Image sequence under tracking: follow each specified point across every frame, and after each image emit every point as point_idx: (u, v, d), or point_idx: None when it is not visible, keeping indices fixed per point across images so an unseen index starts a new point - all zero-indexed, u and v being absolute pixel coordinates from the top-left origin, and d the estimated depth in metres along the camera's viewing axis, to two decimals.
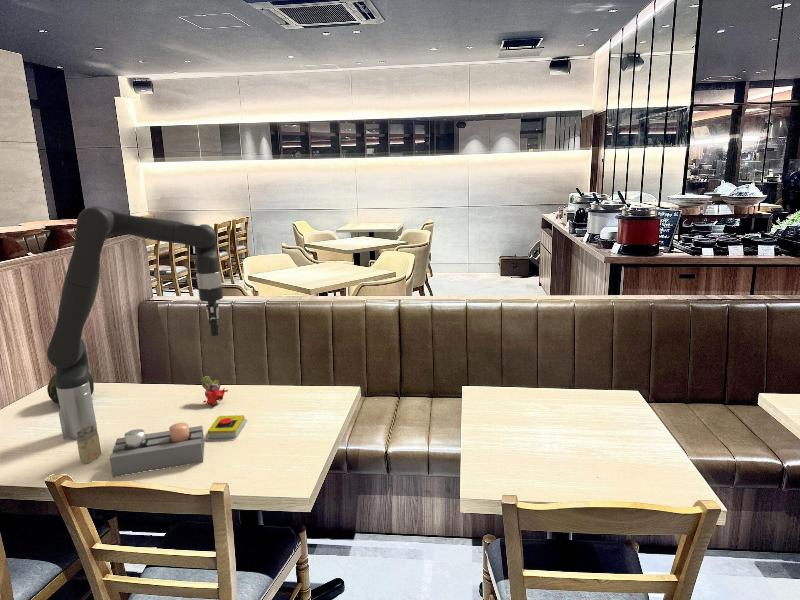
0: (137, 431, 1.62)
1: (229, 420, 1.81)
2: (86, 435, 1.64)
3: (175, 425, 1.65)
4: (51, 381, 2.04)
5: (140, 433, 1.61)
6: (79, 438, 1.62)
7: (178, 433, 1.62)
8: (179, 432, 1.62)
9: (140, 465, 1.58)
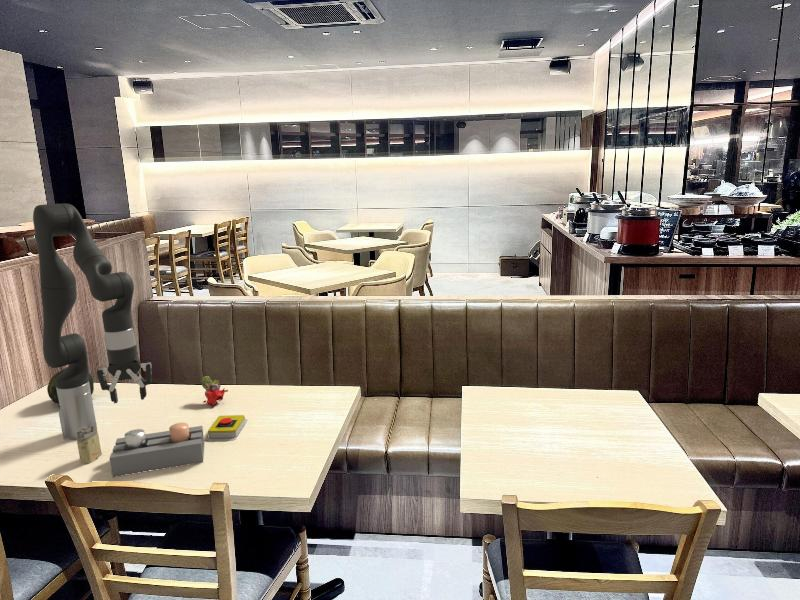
0: (137, 431, 1.62)
1: (229, 420, 1.81)
2: (86, 435, 1.64)
3: (175, 425, 1.65)
4: (51, 381, 2.04)
5: (140, 433, 1.61)
6: (79, 438, 1.62)
7: (178, 433, 1.62)
8: (179, 432, 1.62)
9: (140, 465, 1.58)
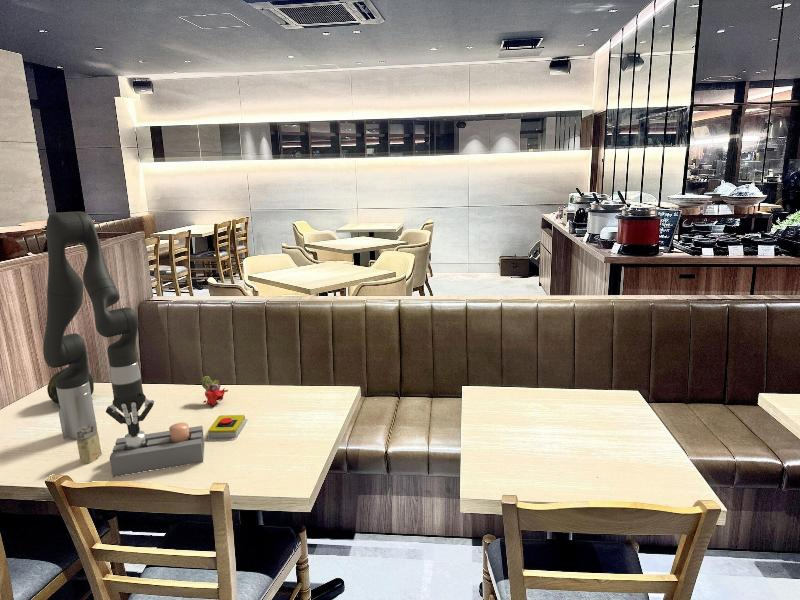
0: None
1: (229, 420, 1.81)
2: (86, 435, 1.64)
3: (175, 425, 1.65)
4: (51, 381, 2.04)
5: (140, 435, 1.61)
6: (79, 438, 1.62)
7: (178, 433, 1.62)
8: (179, 432, 1.62)
9: (140, 465, 1.58)
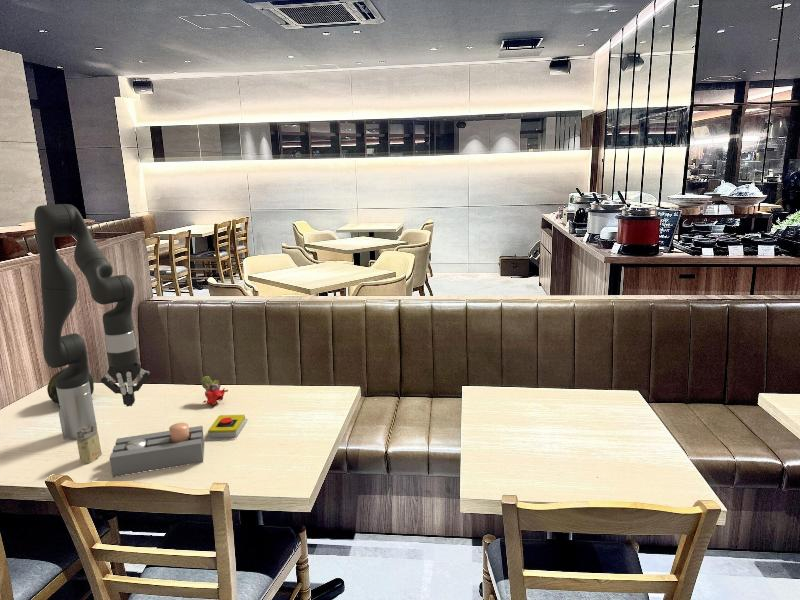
0: (139, 441, 1.63)
1: (230, 419, 1.81)
2: (86, 435, 1.64)
3: (175, 425, 1.65)
4: (51, 381, 2.04)
5: (141, 443, 1.62)
6: (79, 438, 1.62)
7: (178, 433, 1.62)
8: (179, 432, 1.62)
9: (140, 465, 1.58)
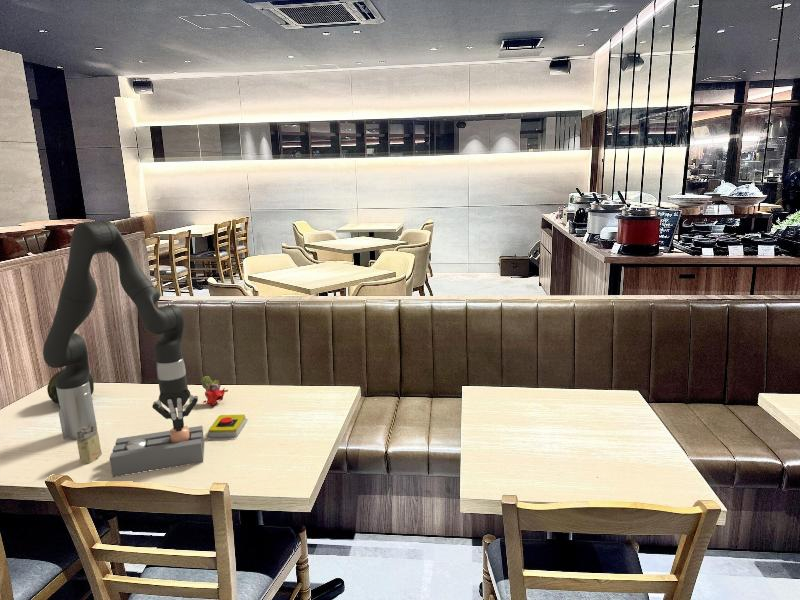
0: (139, 441, 1.63)
1: (230, 419, 1.81)
2: (86, 435, 1.64)
3: None
4: (51, 381, 2.04)
5: (141, 443, 1.62)
6: (79, 438, 1.62)
7: (179, 436, 1.63)
8: (180, 435, 1.63)
9: (140, 465, 1.58)
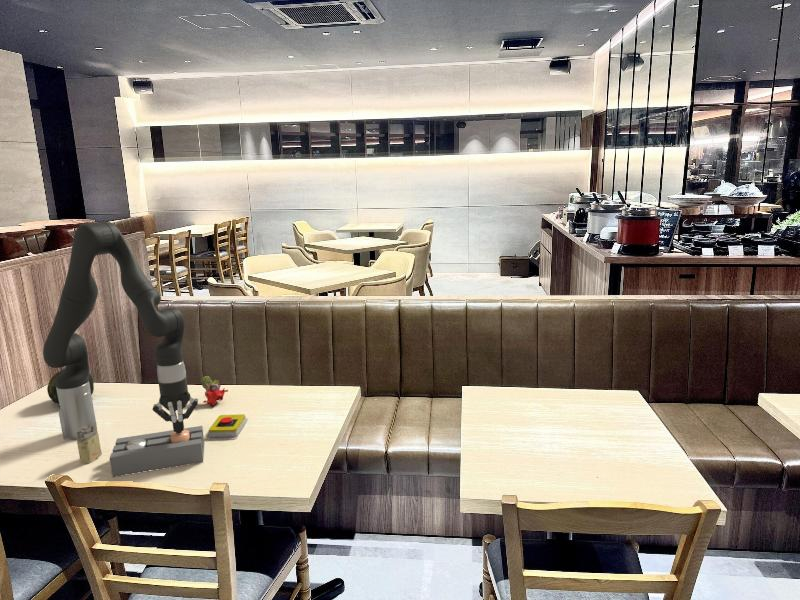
0: (139, 441, 1.63)
1: (230, 419, 1.81)
2: (86, 435, 1.64)
3: None
4: (51, 381, 2.04)
5: (141, 443, 1.62)
6: (79, 438, 1.62)
7: (179, 440, 1.63)
8: (180, 439, 1.63)
9: (140, 465, 1.58)
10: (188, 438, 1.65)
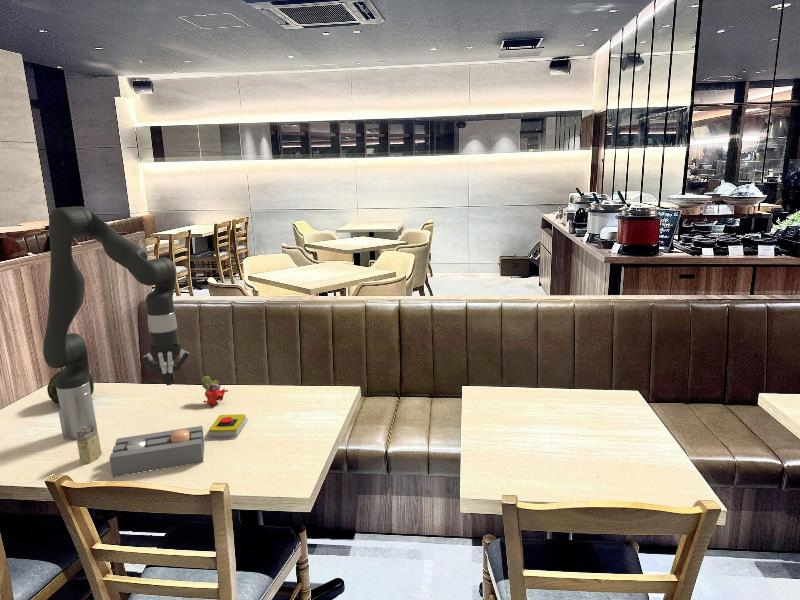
0: (139, 441, 1.63)
1: (230, 419, 1.81)
2: (86, 435, 1.64)
3: (176, 432, 1.66)
4: (51, 381, 2.04)
5: (141, 443, 1.62)
6: (79, 438, 1.62)
7: (179, 440, 1.63)
8: (180, 439, 1.63)
9: (140, 465, 1.58)
10: (188, 438, 1.65)
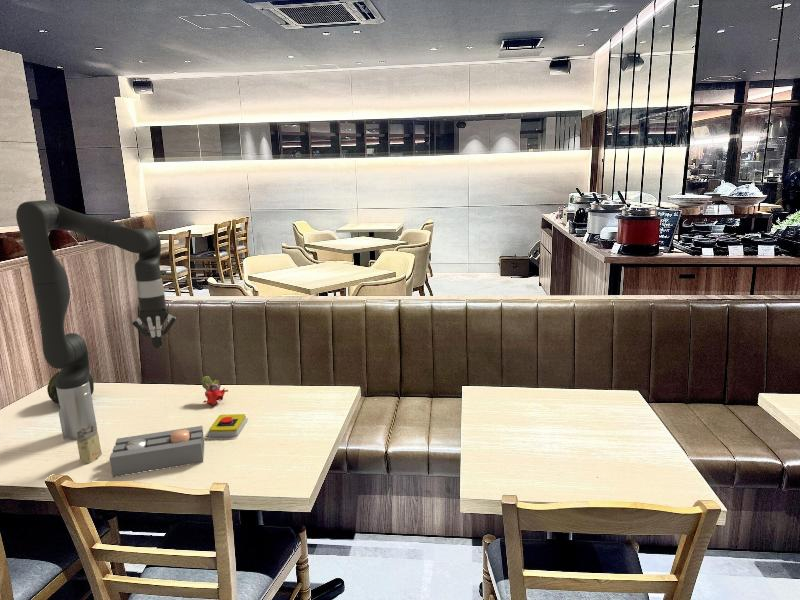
0: (139, 441, 1.63)
1: (230, 419, 1.81)
2: (86, 435, 1.64)
3: (176, 432, 1.66)
4: (51, 381, 2.04)
5: (141, 443, 1.62)
6: (79, 438, 1.62)
7: (179, 440, 1.63)
8: (180, 439, 1.63)
9: (140, 465, 1.58)
10: (188, 438, 1.65)
